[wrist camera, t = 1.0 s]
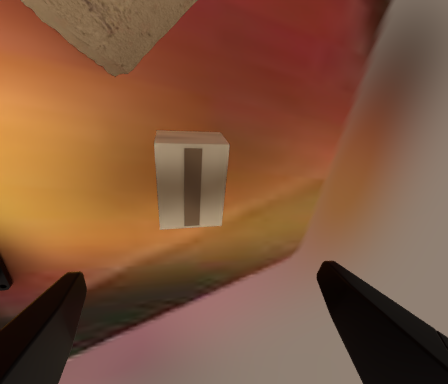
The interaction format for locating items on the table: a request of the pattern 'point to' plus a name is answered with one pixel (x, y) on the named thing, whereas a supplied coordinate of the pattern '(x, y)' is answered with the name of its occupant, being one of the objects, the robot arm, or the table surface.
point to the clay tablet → (111, 27)
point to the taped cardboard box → (190, 178)
